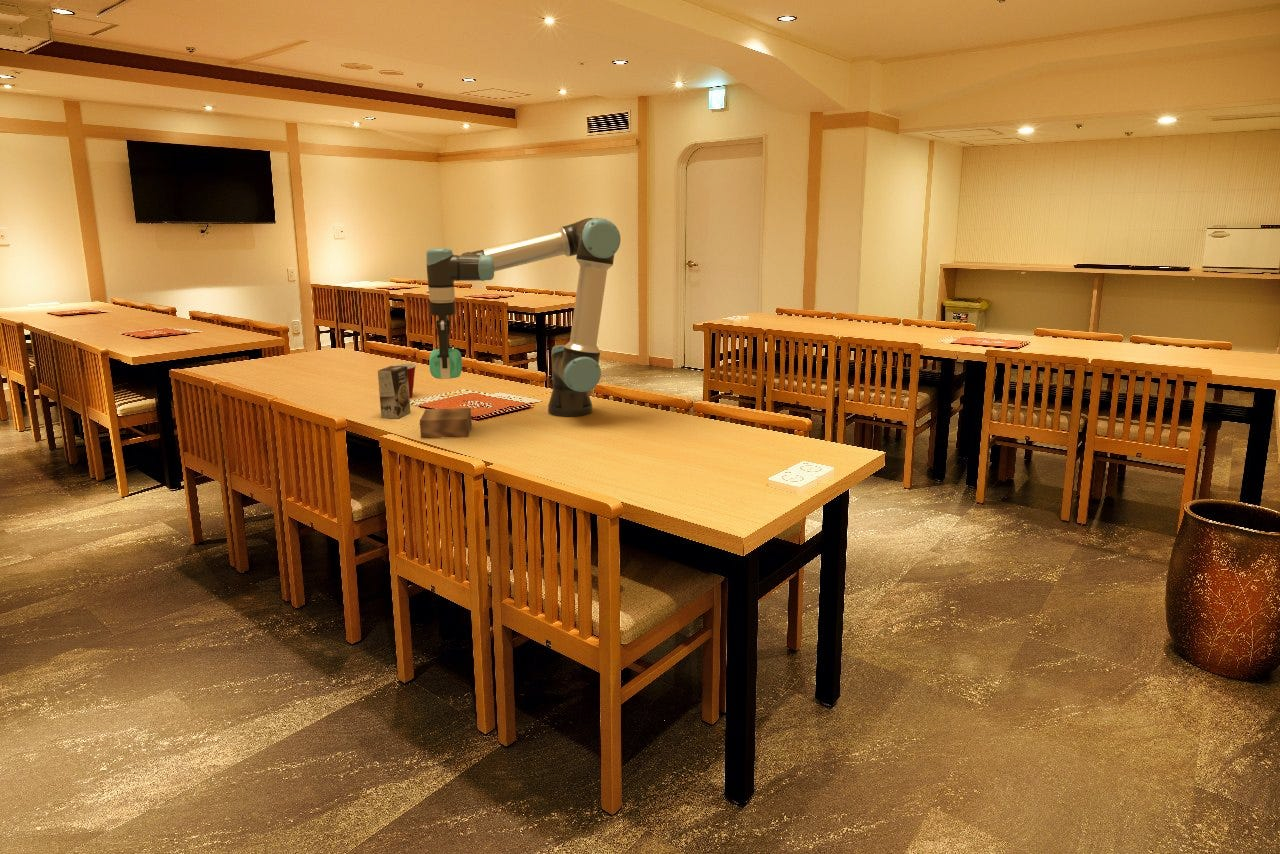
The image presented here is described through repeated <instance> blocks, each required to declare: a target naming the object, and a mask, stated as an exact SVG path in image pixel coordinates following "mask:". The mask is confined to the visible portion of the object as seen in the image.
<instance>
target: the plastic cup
mask: <svg viewBox="0 0 1280 854" xmlns="http://www.w3.org/2000/svg"><path fill="white" fill-rule="evenodd" d="M391 366H407V370H408V384H409V397H410V399H411V398H413V395H414V394H413V393H414V392H413V391H414V382H415V372H416V368H417V364H416V363H412V362H410V363H409V362H405V363H398V364H393V365H391Z"/></svg>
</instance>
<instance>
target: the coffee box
mask: <svg viewBox="0 0 1280 854" xmlns="http://www.w3.org/2000/svg"><path fill="white" fill-rule="evenodd" d="M377 378H378V392H379V405H380V417H381V418H383V419H384V418H385V419H397V420H398V419H400V418H403V417H404V416H406V415H408V414H411V412H412V411H411V400H410V399H411V398H410V397H409V384H408V370H407V366H392V365H389V366H386V367H384V368H382V369H378V370H377Z"/></svg>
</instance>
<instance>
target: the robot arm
mask: <svg viewBox="0 0 1280 854" xmlns="http://www.w3.org/2000/svg"><path fill="white" fill-rule="evenodd" d="M620 245H621V232H620V230H619V228H618V227H617V226H616V225H615V224H614V222H612V221H611V220H608V219H607V218H603V217H588V218H584V219H581V220H578V221H576V222H573V223H570V224H567V225H564V226H560V227H559V229H558V230H557V231H554V232H549V233H545V234H541V235H537V236H533V237H529V238H524V239H520V240H519V239H518V240H516V241H511V242H509V243H508V242H507V243H503V244H499V245H495V246H491V247H487V248H483V249H479V250H474V251H471V252H470V251H467V252H463V253H462V254H459V255H458V254H454V253H453V250H452V249H451V248H434V247H433V248H428V249H427V251H426V275H427V277H426V278H427V287H428V288H427V290H426V292H425V293H426V294H428V301H430V302H429V303H428V305H429V306H428V307H429V308H428V309H429V314H430V315H431V316H437V317H438V319H437V320H436V321H435V325H436V328H437V329H436V330H437V331H436V332H437V336H438V344H439V345H438V346H439V347H438V349H439V351H440V353H439V355H437V357H438V358H440V370H441V379H440V380H450V363H449V353H448V349H453V347H451V345H450V333H451V328H450V327H451V320H450V319H449V317H448V316H453V315H455V314H456V303H455V302H454V301H455V299H456V297H455V284H454V283H455V282H461V281H463V282H464V281H465V282H466V281H469V282H470V281H476V282H477V281H480V282H484V281H491V280H494V278H495V272H498V271H502V270H506V269H510V268H514V267H518V266H522V265H527V264H530V263H535V262H540V261H543V260H547V259H551V258H555V257H560V256H563V255H564V256H566V257H572V256H576V258H575V260H576V261H577V263H578V264H579V270H578V271H579V273H578V277H577V278H578V279H577V288H576V292H575V293H576V294H575V300H574V301H575V303H574V309H573V316H572V323H571V329H570V330H571V331H570V338H569V341H568V342H567V343H566V344H559V345H558V344H557V345H554V346H553V347H551V356H550V357H551V367H552V369H551V372H552V373H551V375H552V392H551V394H550V395H551V396H550V398H549V401H548V405H547V411H548V414H550V415H552V416H557V417H580V416H586V415H589V414H591V413H593V403H592V402H593V401H592V399H591V397H590V393H589V391H591V390H592V389H595V387H596V386H598V383H600V379H601V376H602V370H601V366H600V363H599V362H600V356H601V350H600V349H599V347H598V346H597V344H598V338H599V337H598V336H599V329H600V324H601V316H602V309H603V303H604V302H603V301H604V296H605V288H606V281H607V276H608V275H607V274H608V270H609V269H610V268H611V267H613V265H614V261H615V260H614V259H615V254H616V253H617V252H618V250H619V248H620Z"/></svg>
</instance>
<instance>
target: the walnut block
mask: <svg viewBox="0 0 1280 854" xmlns="http://www.w3.org/2000/svg"><path fill="white" fill-rule="evenodd" d="M471 408H472V407H465V408H464V407H463V408H462V407H461V408H459V407H458V408H432V409H431V408H430V409H427V408H426V409H425V410H424V411H423V414H422V416H421V417H420V419H419V428H420V429H419V430H420V439H421V438H428V439H442V438H441V437H457V438H469V436H470V433H471V429H472V425H473V424H472V409H471Z"/></svg>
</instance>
